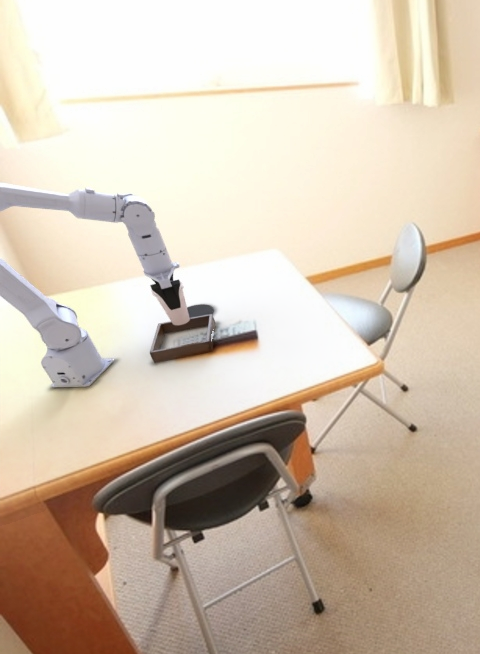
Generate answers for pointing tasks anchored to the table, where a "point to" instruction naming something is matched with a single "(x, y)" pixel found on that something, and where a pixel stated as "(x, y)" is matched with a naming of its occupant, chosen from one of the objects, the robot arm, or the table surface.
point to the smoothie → (176, 315)
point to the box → (182, 350)
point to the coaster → (199, 310)
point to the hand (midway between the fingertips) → (173, 302)
